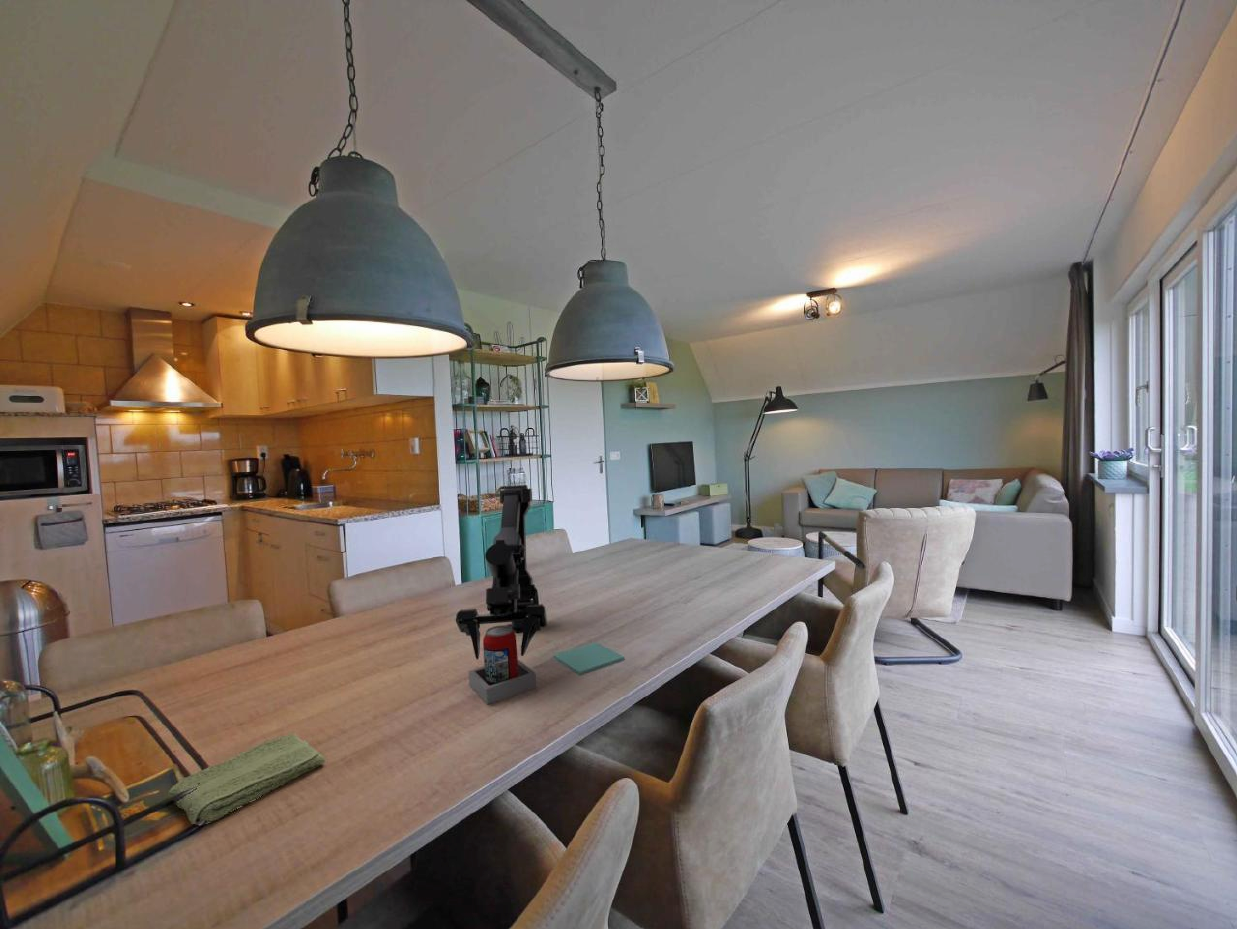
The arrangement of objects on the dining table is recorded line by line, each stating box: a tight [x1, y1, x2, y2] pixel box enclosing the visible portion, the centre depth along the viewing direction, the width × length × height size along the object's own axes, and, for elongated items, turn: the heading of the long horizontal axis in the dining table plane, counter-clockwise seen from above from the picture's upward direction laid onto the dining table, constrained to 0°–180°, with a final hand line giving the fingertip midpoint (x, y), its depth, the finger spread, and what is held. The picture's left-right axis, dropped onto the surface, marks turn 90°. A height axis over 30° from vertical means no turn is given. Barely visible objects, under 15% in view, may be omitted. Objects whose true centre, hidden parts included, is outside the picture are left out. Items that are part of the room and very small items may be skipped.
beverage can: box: [482, 625, 519, 686], centre depth 109 cm, size 7×7×12 cm
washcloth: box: [167, 733, 326, 825], centre depth 81 cm, size 13×18×3 cm
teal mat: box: [552, 641, 625, 676], centre depth 121 cm, size 12×12×1 cm
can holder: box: [467, 659, 538, 705], centre depth 109 cm, size 11×11×3 cm
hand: (499, 657), depth 107 cm, fingers open, 9 cm apart
